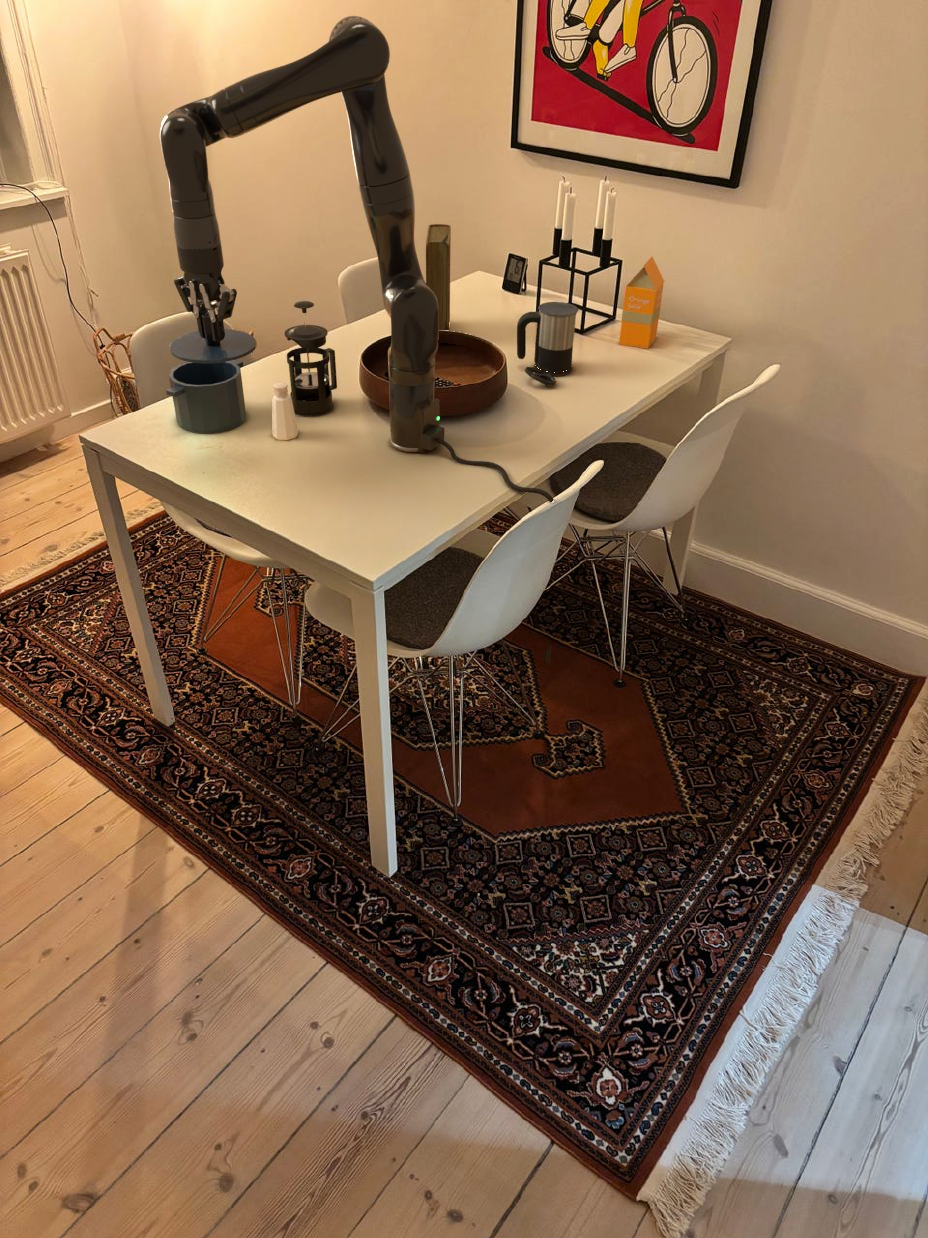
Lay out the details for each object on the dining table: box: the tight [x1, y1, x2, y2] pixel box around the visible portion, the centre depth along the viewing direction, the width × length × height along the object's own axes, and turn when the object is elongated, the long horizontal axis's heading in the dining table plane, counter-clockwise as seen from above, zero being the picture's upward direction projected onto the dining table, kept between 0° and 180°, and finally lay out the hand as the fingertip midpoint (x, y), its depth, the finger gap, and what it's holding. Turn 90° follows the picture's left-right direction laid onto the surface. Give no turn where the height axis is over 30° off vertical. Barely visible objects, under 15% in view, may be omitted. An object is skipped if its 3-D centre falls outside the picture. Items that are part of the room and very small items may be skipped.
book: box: [425, 223, 452, 331], centre depth 241 cm, size 16×6×25 cm, turn 179°
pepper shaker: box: [271, 382, 299, 441], centre depth 198 cm, size 5×5×11 cm
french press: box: [283, 300, 338, 417], centre depth 205 cm, size 12×9×23 cm
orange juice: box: [618, 256, 665, 349], centre depth 241 cm, size 8×9×20 cm
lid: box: [169, 311, 258, 363], centre depth 176 cm, size 16×16×7 cm
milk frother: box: [516, 301, 579, 387], centre depth 224 cm, size 14×16×15 cm
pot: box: [165, 359, 247, 434], centre depth 203 cm, size 14×20×10 cm
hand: (212, 338), depth 177 cm, fingers closed on lid, 2 cm apart
